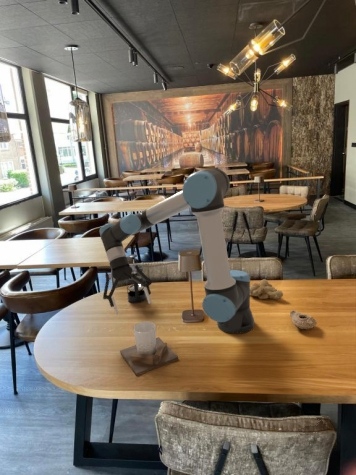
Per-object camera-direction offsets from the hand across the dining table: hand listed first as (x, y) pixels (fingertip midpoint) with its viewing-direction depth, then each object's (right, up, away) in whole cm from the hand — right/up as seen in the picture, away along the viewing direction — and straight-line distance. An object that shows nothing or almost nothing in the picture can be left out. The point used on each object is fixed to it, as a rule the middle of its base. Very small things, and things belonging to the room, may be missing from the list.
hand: (134, 308), depth 135 cm
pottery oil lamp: (+67, -8, +4) cm, 68 cm away
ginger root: (+59, -1, +31) cm, 66 cm away
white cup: (+6, -14, -10) cm, 18 cm away
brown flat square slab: (+7, -15, -11) cm, 20 cm away
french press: (-3, -3, +36) cm, 37 cm away
